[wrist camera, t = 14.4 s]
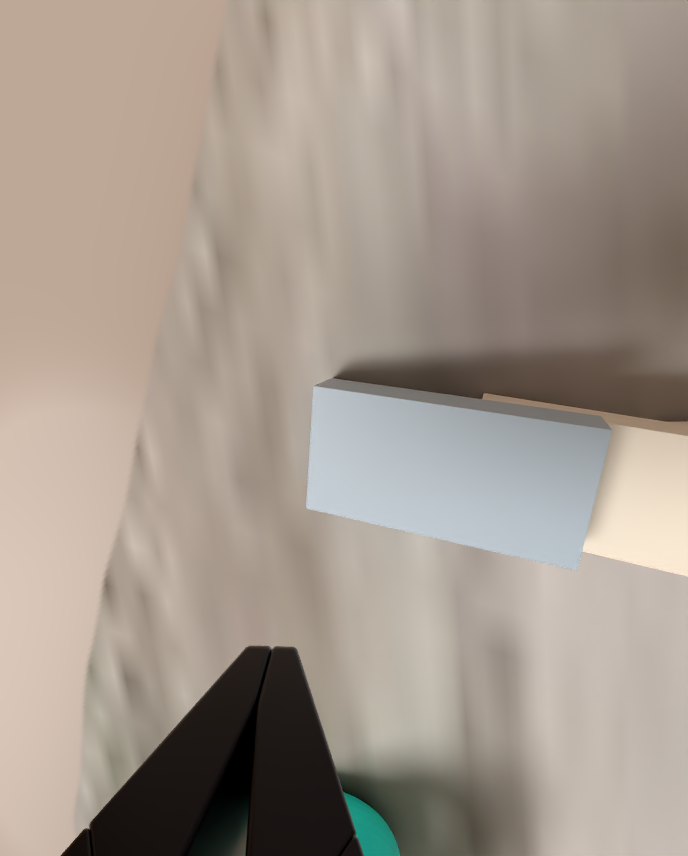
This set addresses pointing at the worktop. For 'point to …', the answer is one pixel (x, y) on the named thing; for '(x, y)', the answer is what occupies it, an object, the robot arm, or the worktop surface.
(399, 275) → the worktop surface
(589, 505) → the domino
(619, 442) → the ivory domino
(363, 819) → the turquoise lobed shape
